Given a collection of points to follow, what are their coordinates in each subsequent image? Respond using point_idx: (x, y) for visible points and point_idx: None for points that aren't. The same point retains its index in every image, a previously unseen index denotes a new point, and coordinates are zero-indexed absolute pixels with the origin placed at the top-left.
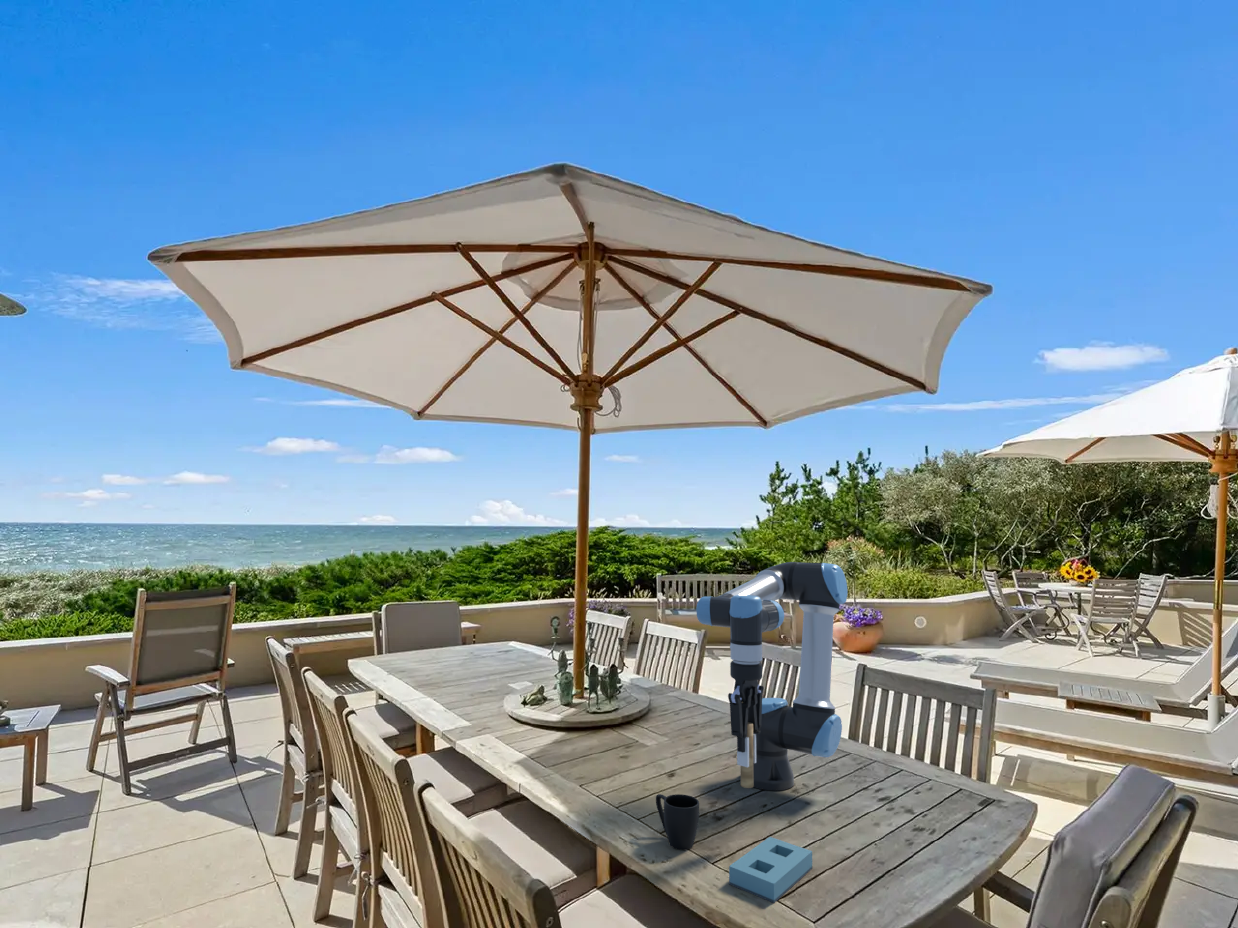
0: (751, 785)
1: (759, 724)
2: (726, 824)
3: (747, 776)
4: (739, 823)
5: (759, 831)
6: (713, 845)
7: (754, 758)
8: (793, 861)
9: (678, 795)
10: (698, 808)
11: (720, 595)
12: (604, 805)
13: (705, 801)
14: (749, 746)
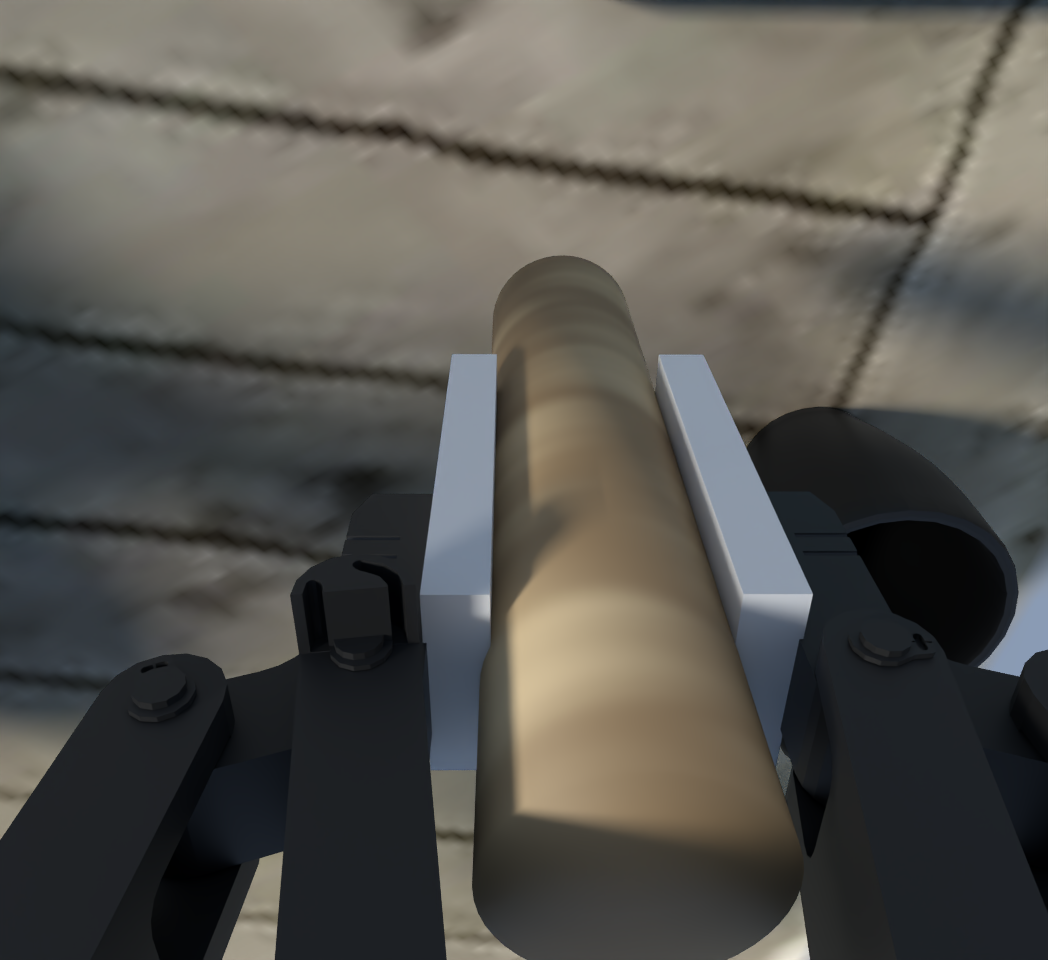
0: (585, 266)
1: (175, 726)
2: (398, 412)
3: (633, 330)
4: (323, 363)
5: (322, 209)
6: (707, 331)
7: (494, 385)
8: None
9: None
10: (865, 497)
11: None
12: None
13: (229, 635)
14: (672, 496)
